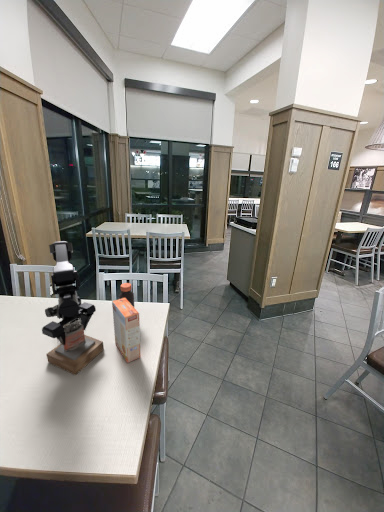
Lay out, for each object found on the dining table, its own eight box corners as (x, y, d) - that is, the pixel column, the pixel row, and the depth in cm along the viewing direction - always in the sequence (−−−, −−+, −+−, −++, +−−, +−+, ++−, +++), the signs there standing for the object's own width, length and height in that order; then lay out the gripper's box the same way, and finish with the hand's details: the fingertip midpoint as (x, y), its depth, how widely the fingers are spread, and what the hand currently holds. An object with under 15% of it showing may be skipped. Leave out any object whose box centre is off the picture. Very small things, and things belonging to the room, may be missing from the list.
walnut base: (78, 339, 97) (77, 330, 95) (103, 349, 92) (102, 339, 91) (48, 362, 85) (45, 351, 83) (75, 375, 80) (73, 364, 78)
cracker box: (141, 357, 89) (139, 312, 82) (127, 363, 86) (124, 317, 79) (128, 337, 100) (125, 296, 93) (114, 342, 96) (111, 300, 89)
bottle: (136, 317, 114) (134, 282, 108) (133, 325, 108) (131, 288, 101) (123, 316, 114) (120, 281, 107) (119, 325, 108) (116, 288, 101)
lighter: (83, 338, 91) (80, 317, 87) (87, 342, 89) (84, 320, 86) (62, 349, 85) (58, 327, 81) (66, 353, 83) (62, 331, 79)
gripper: (73, 286, 91) (78, 318, 96) (26, 309, 75) (35, 346, 80) (94, 292, 88) (98, 325, 93) (50, 317, 71) (57, 356, 76)
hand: (74, 337), depth 85 cm, fingers open, 9 cm apart
